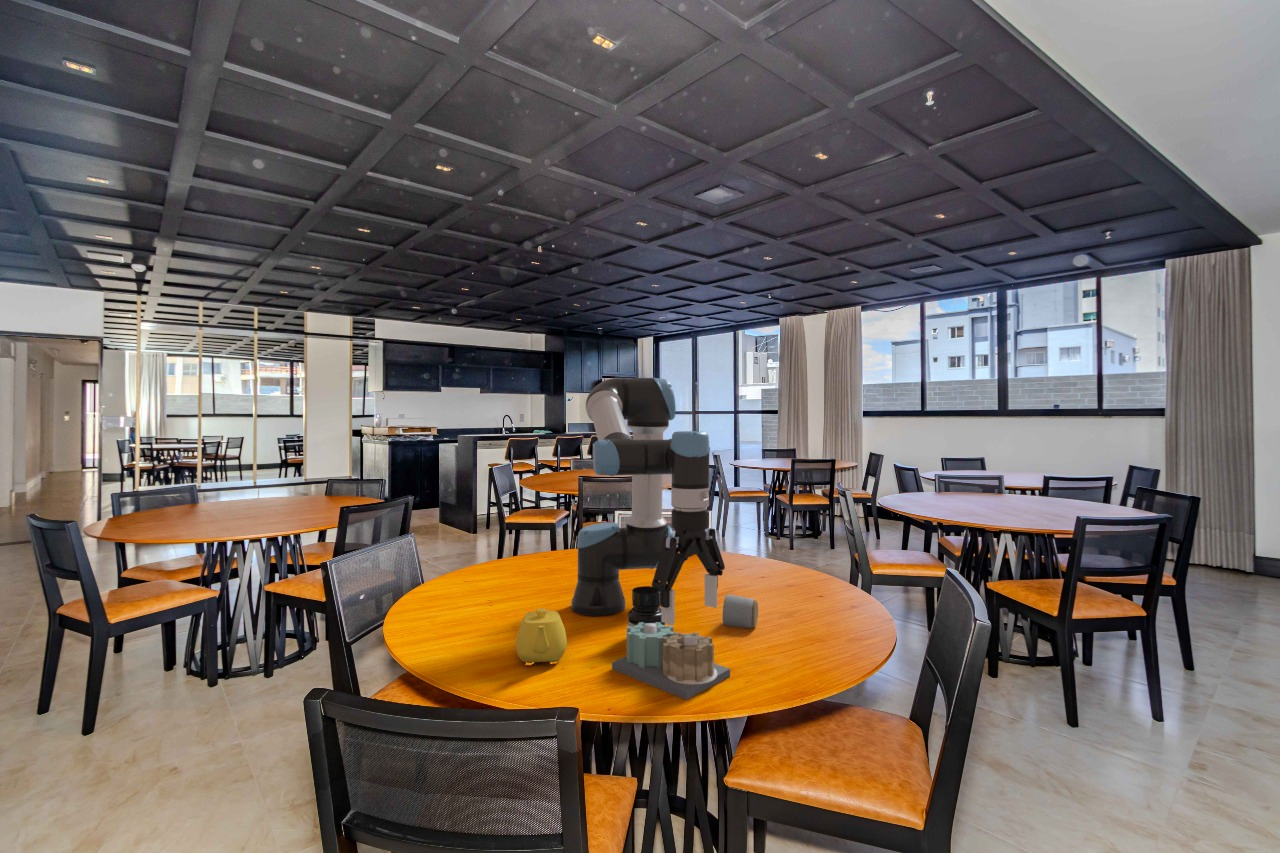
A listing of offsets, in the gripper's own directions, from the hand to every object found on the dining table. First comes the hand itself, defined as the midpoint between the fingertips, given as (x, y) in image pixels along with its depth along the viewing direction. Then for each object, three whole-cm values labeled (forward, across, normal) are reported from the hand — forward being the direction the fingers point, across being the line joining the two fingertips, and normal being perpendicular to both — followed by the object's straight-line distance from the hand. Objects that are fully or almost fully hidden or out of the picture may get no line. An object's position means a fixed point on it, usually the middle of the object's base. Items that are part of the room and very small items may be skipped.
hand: (690, 614), depth 115 cm
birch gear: (+11, 0, 0) cm, 11 cm away
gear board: (+13, 0, +5) cm, 14 cm away
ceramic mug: (+14, +34, +11) cm, 39 cm away
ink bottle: (+14, +10, +21) cm, 27 cm away
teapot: (+14, -14, +30) cm, 36 cm away
